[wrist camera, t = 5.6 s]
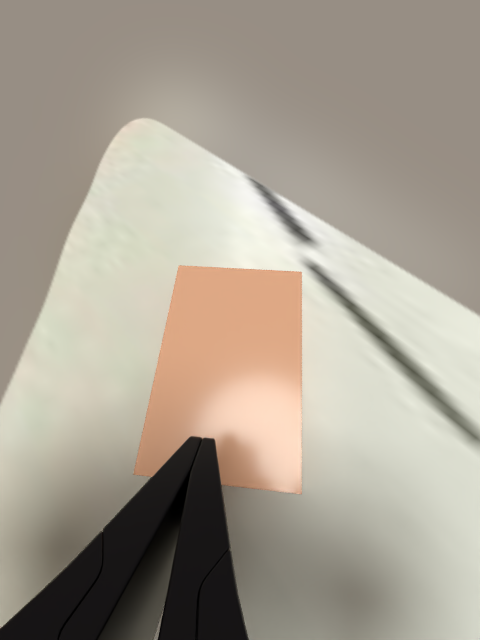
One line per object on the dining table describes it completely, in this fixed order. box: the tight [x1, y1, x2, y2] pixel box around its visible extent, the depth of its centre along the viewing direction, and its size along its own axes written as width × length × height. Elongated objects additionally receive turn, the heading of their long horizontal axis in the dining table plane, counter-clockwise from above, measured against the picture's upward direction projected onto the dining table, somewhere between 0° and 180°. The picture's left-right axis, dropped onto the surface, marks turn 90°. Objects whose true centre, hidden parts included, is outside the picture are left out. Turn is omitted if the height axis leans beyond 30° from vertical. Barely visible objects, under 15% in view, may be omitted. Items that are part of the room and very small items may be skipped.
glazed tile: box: [133, 266, 302, 494], centre depth 16 cm, size 2×8×12 cm
